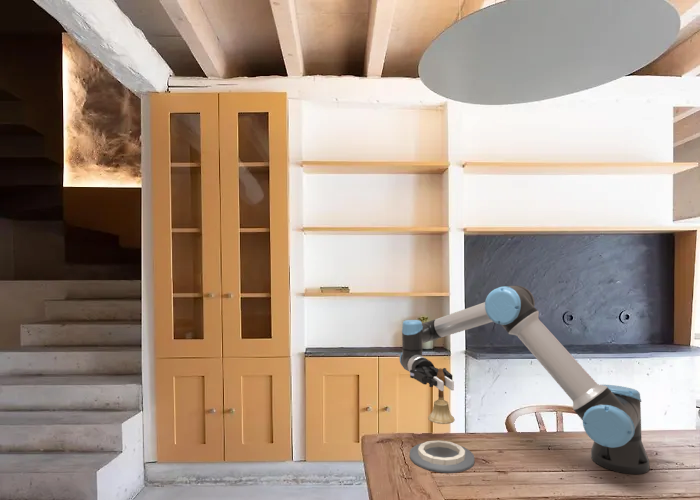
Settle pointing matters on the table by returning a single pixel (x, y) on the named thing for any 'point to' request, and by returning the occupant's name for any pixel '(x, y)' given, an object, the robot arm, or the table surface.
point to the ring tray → (442, 457)
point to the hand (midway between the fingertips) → (447, 386)
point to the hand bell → (441, 406)
